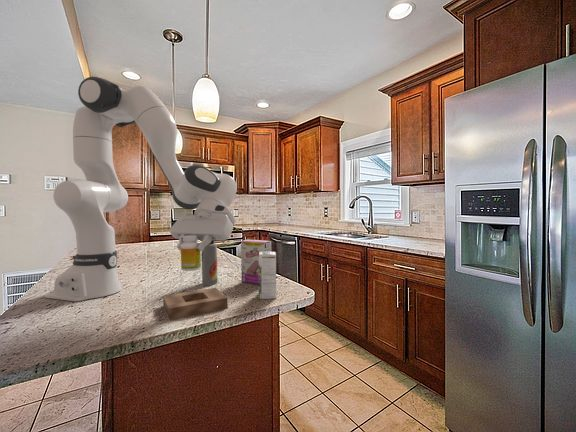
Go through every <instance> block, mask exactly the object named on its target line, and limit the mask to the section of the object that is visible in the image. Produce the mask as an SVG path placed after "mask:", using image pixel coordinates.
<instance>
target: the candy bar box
mask: <svg viewBox="0 0 576 432" xmlns="http://www.w3.org/2000/svg"><path fill="white" fill-rule="evenodd" d="M240 244H241V245H240V247H241V248H240V251H241V252H240V253H241V257H240V258H241V260H240V261H241V283H246V284H253V285H254V284H255V285H258V268H259V252H265V251H270V252H272V241H271V240H263V239H262V240H259V239H243V240H241V241H240Z"/></svg>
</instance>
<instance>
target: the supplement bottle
mask: <svg viewBox="0 0 576 432" xmlns="http://www.w3.org/2000/svg"><path fill="white" fill-rule="evenodd" d="M183 241H184V243H183V244H182V245H181V250H180V263H181V264H180V268H181V269H180V270H182V271H185V272H191V271H197V270H200V269H202V257H201V251H197V249H196V248H195V247H196V246H197V243H198V240H197V236H196V235H189V236H183Z"/></svg>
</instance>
